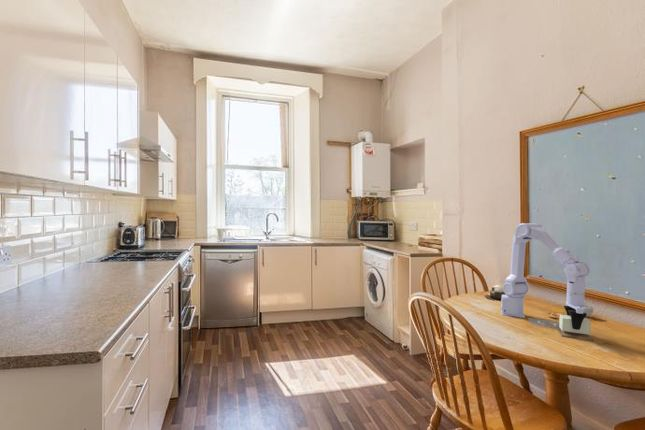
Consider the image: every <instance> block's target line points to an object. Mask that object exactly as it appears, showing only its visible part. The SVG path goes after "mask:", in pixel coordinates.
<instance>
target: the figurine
mask: <svg viewBox="0 0 645 430" xmlns="http://www.w3.org/2000/svg"><path fill="white" fill-rule="evenodd" d="M547 314H548V315H547V317H548V318H550V319H554V318H560V315H565V314H564V313H563V312H559V313H558V311H557V312H551V311H547Z"/></svg>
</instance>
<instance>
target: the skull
mask: <svg viewBox="0 0 645 430" xmlns="http://www.w3.org/2000/svg"><path fill="white" fill-rule="evenodd" d="M502 295H506V294H505V292H504V290H503V286H502V285H499V284H496V285H493V286H492V287H491V289H490V290H489V293H488V294H485V295H484V298H486V299H488V300H492V301H498V302H499V301H500V302H501V298H502Z"/></svg>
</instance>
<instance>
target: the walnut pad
mask: <svg viewBox="0 0 645 430" xmlns="http://www.w3.org/2000/svg"><path fill="white" fill-rule="evenodd" d="M555 329H556V331H557V332H558V333H559V335H560V336H561V337H565V338H570V339H577V340H582V341H583V340H584V341H591V342H594V338H593V337H592V336H591V334H590V335H588V334H581V333H574V332H568V331H562V330H561V328H559V327H556V328H555Z"/></svg>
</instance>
